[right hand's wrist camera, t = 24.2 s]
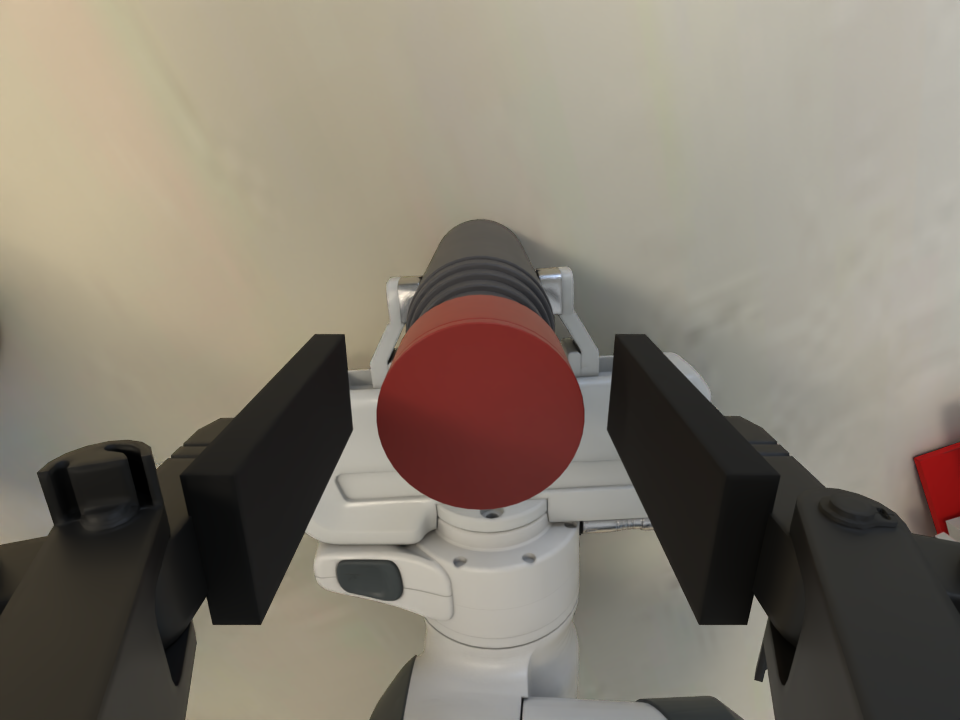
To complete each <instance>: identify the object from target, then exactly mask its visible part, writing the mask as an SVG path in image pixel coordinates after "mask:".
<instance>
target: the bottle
mask: <svg viewBox="0 0 960 720" xmlns="http://www.w3.org/2000/svg"><path fill="white" fill-rule="evenodd" d="M468 295H493V296H498V297H503V298H507V299H510V300H513V301H516V302H518V303H520V304H522V305H524V306H526V307H528V308H529V309H531V310H532V311H534V312H535V313H536V314H538V315H539V316H540V317H541V318H542V319H543V320H544V321H545V322H546V323H547V324H548V325H549V326H550V327H551V329H552V330H553V331H554V333H555V322H554V314H553V310H552V306H551V303H550V301H549V298H548V296H547V294H546V292H545V290H544V288H543V286H542V284H541V282H540V280H539V278H538V276H537V274H536V272H535V270H534V269H533V267H532V265H531V263H530V261H529V259H528V257H527V255H526V253H525V251H524V249H523V247H522V245H521V243H520V241H519V240H518V238H517V237H516V236H515V235H514V234H513V233H512V232H511V231H510V230H509V229H508V228H506V227H505V226H503V225H501V224H499V223H497V222H494V221H490V220H482V219H477V220H470V221H467V222H464V223H461V224H459V225H457V226H456V227H454V228H453V229H452V230H450V231H449V232H448V233H447V234H446V235H445V236H444V238H443V239H442V240H441V242H440V244H439V246H438V248H437V250H436V252H435V254H434V256H433V258H432V260H431V262H430V264H429V266H428V268H427V270H426V272H425V274H424V276H423V278H422V280H421V282H420V284H419V286H418V288H417V290H416V292H415V294H414V296H413V298H412V300H411V303H410V305H409V309H408V313H407V319H406V333H407V331H408V330H409V328H410V327H411V326H412V325H413V324H414V323H415V322H416V320H418V319H419V318H420V317H421V316H422V315H423V314H424V313H426V312H427V311H429V310H430V309H432V308H433V307H435V306H437V305H439V304H441V303H443V302H445V301H448V300H451V299H454V298H458V297H463V296H468Z"/></svg>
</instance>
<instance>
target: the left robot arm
mask: <svg viewBox="0 0 960 720" xmlns="http://www.w3.org/2000/svg"><path fill="white" fill-rule="evenodd" d="M535 272H536V274H537V276H538V278H539V280H540V282H541V284H542V286H543V288H544V290H545V292H546V294H547V296H548V298H549V301H550V303H551V306H552V310H553V314H554V315H556V314H558V315H559V317H560V318H561V320H562V321H563V323H564V325H565V326H566V328H567V329H568V331H569V333H570V334H571V336H572V337H573V339H572V338H563V339H562V340H561V346H562V348H563V350H564V352H565V354H566V357H567V359H568V361H569V363H570V366H571V368H572V370H573V372H574V375H575V377H576V379H577V381H578V384H579V386H580V390H581V393H582V396H583V402H584V409H585V422H584V429H583V435H582V438H581V442H580V445H579V447H578V450H577V452H576V454H575V456H574V458H573V460H572V461H571V463H570V464H569V466H568V467H567V469H566V470H565V471H564V472H563V474H562V475H561V476H560V477H559V478H558V479H557V480H556V481H555V482H554V483H553V484H552V485H550V486H549V487H548V488H546V489H545V490H543V491H542V492H541V493H539V494H537V495H535V496H534V497H532V498H530V499H528V500H525V501H523V502H520V503H518V504H515V505H511V506H508V507H503V508H497V509H486V510H475V509H464V508H458V507H453V506H450V505H446V504H443V503H441V502H438V501H436V500H433V499H431V498H429V497H427V496H426V495H424V494H422V493H420V492H419V491H418V490H416V489H415V488H413V487H412V486H411V485H409V484H408V483H407V482H406V481H405V480H404V479H403V478H402V477H401V476H400V475H399V473H398V472H397V471H396V470H395V469H394V467H393V466H392V464H391V463H390V461H389V460H388V458H387V456H386V454H385V452H384V450H383V447H382V445H381V442H380V438H379V435H378V429H377V422H376V409H377V402H378V396H379V393H380V390H381V386H382V384H383V381H384V379H385V377H386V375H387V372H388V370H389V368H390V366H391V363H392V361H393V359H394V357H395V354H396V352H397V350H398V348H396V349H395V348H394V347H395V345H396V343H397V340H398V338H399V336H400V334H401V332H402V330H403V328H404V325H405V323H406V319H407V313H408V309H409V305H410V303H411V300H412V298H413V296H414V294H415V292H416V290H417V288H418V286H419V284H420V282H421V280H422V278H423V276H402V277H401V276H398V277H390V279H389V280H388V281H387V286H386V294H387V302H388V310H389V319H390V321H389V323H388V324H387V327H386V329H385V331H384V333H383V335H382V338H381V340H380V342H379V344H378V346H377V349H376V351H375V353H374V355H373V357H372V359H371V362H370V369H359V370H348V378H349V388H350V399H351V410H352V421H353V432H352V434H351V436H350V438H349V440H348V442H347V444H346V446H345V448H344V451H343V453H342V455H341V457H340V459H339V461H338V463H337V465H336V467H335V470H334V472H333V474H332V476H331V478H330V480H329V482H328V484H327V486H326V489H325V491H324V493H323V495H322V497H321V499H320V501H319V503H318V505H317V508H316V510H315V512H314V514H313V516H312V518H311V520H310V522H309V524H308V527H307V529H306V531H305V533H306V534H308V535H309V536H311V537H312V538H314V539H316V540H318V541H319V542H318V546H317V550H316V554H315V558H314V565H313V566H314V574H315V578H316V581H317V582H318V584H319V585H320V586H321V587H322V588H324V589H326V590H328V591H331V592H335V593H339V594H344V595H349V596H354V597H359V598H364V599H368V600H372V601H377V602H381V603H384V604H388V605H392V606H395V607H398V608H402V609H405V610H408V611H411V612H413V613H416V614H418V615H421V616H423V618H424V620H425V623H426V635H425V644H424V651H423V653H422V654H421V655H419V656H417V655H415V656H414V657H412V658H411V659H410V660H409V661H408V662H407V663H406V665H405V666H404V667H403V668H402V669H401V671H400V672H399V673H398V674H397V676H396V677H395V679H394V680H393V681H392V683H391V684H390V686H389V687H388V688H387V690H386V691H385V693H384V694H383V695H382V697H381V698H380V700H379V701H378V703H377V705H376V707H375V709H374V711H373V713H372V715H371V717H370V720H743V719H742V718H741V717H740V716H739V715H737V714H736V713H735V712H734V711H732V710H731V709H730V708H728V707H727V706H726V705H724V704H723V703H722V702H720V701H719V700H717V699H716V698H714V697H712V696H695V697H673V698H652V699H639V700H637V701H636V702H628V701H609V700H590V699H577V689H578V673H579V643H578V636H577V632H576V628H575V625H574V623H573V620H572V619H573V616H574V614H575V611H576V608H577V604H578V598H579V551H580V543H579V535H581V534H584V533H604V532H615V531H620V530H626V529H641V530H654V529H653V527H652V524H651V522H650V520H649V518H648V516H647V514H646V512H645V510H644V508H643V505H642V503H641V501H640V499H639V497H638V495H637V493H636V491H635V489H634V486H633V484H632V482H631V480H630V478H629V476H628V474H627V472H626V470H625V467H624V465H623V463H622V461H621V459H620V457H619V455H618V453H617V451H616V448H615V446H614V444H613V442H612V440H611V438H610V436H609V434H608V432H607V421H608V410H609V399H610V388H611V378H612V367H613V356H614V355H608V356H599V350H598V348H597V346H596V345H595V343H594V342H593V340H592V338H591V337H590V335H589V333H588V332H587V330H586V328H585V327H584V325H583V323H582V322H581V320H580V318H579V317H578V315H577V314H576V312H575V310H574V279H573V273H572V270H571V269H570V268H569V267H552V268H538V269H536V271H535ZM663 353H664V354H665V355H666V357H667V358H668V359H669V360H670V361H671V362H672V363H673V364H674V365H675V366H676V367H677V368H678V369H679V370H680V371H681V372H682V373H683V374H684V375H685V376H686V377H687V378H688V379H689V380H690V382H691V383H692V384H693V385H694V386H695V387H696V388H697V389H698V390H699V391H700V392H701V393H702V394H703V395H704V396H705V397H706V398H707V399H708V400H709V401H710V402H711V392H710V389H709V387H708V385H707V383H706V382H705V380H704V379H703V378H702V377H701V375H700V374H699V373H698V372H697V371H696V370H695V369H694V368H693V367H692V366H691V365H690V364H689V363H687V362H686V361H685V360H684V359H683V358H682V357H680V356H679V355H677V354H675V353H672V352H663Z"/></svg>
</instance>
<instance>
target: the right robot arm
mask: <svg viewBox="0 0 960 720" xmlns="http://www.w3.org/2000/svg"><path fill="white" fill-rule="evenodd" d="M352 432H353V421H352V410H351V399H350V388H349V378H348V367H347V356H346V345H345V334H315V335H314V336H313V337H312V338H311V339H310V340H309V341H308V342H307V343H306V344H305V345H304V346H303V347H302V348H301V349H300V350H299V351H298V352H297V353H296V354H295V355H294V357H293V358H292V359H291V360H290V361H289V362H288V363H287V364H286V365H285V366H284V367H283V368H282V369H281V370H280V371H279V372H278V373H277V374H276V375H275V376H274V377H273V378H272V379H271V380H270V382H269V383H268V384H267V385H266V386H265V387H264V388H263V389H262V390H261V391H260V392H259V393H258V394H257V395H256V396H255V397H254V398H253V399H252V400H251V401H250V402H249V403H248V404H247V405H246V406H245V408H244V409H243V410H242V411H241V412H240V413H239V414H238V415H237V416H236V417H235V418H220V419H218V420H216V421H214V422H212V423H210V424H208V425H206V426H205V427H203V428H201V429H199V430H197V431H196V432H195V433H194V434H193V435H192V436H191V437H190V438H189V439H188V440H187V441H186V442H185V443H184V445H183V447H180V448H178V449H177V450H176V451H175V452H174V453H173V454H172V455H171V458H168V459H167V460H166V461H165V462H164V463H163V464H162V465H161V466H159V467H158V468H157V469H156V467H155V463H154V459H153V455H152V451H151V447H150V446H148V445H147V444H145V443H143V442H139V441H132V440H119V441H108V442H103V443H98V444H93V445H89V446H85V447H83V448H80V449H77V450H74V451H71V452H68V453H66V454H64V455H62V456H60V457H58V458H56V459H54V460H52V461H51V462H49V463H47V464H46V465H45V466H44V467H43V468H42V469H41V470H39V471H38V472H37V475H38V478H39V481H40V484H41V487H42V490H43V493H44V496H45V499H46V502H47V505H48V508H49V511H50V514H51V517H52V520H53V523H54V526H53V528H52V530H51V531H50V533H49V535H48V536H46V537H40V538H35V539H30V540H24V541H19V542H13V543H8V544H3V545H0V720H185V717H186V710H187V704H188V697H189V690H190V684H191V677H192V671H193V664H194V657H195V651H196V644H197V642H196V634H195V629H194V625H193V621H192V618H193V617H194V615H195V614H196V612H197V611H198V609H199V607H200V606H201V604H202V603H203V601H204V599H205V598H206V597H207V601H208V606H209V610H210V614H211V619H212V623H213V625H261V624H262V621H263V619H264V617H265V615H266V613H267V611H268V609H269V607H270V605H271V602H272V600H273V598H274V596H275V594H276V592H277V590H278V588H279V586H280V583H281V581H282V579H283V577H284V575H285V573H286V571H287V569H288V567H289V564H290V562H291V560H292V558H293V556H294V554H295V552H296V550H297V548H298V545H299V543H300V541H301V539H302V537H303V535H304V533H305V531H306V529H307V527H308V524H309V522H310V520H311V518H312V516H313V514H314V512H315V510H316V508H317V505H318V503H319V501H320V499H321V497H322V495H323V493H324V491H325V489H326V486H327V484H328V482H329V480H330V478H331V476H332V474H333V472H334V470H335V467H336V465H337V463H338V461H339V459H340V457H341V455H342V453H343V451H344V448H345V446H346V444H347V442H348V440H349V438H350V436H351V434H352ZM607 432H608V434H609V436H610V438H611V440H612V442H613V444H614V446H615V448H616V451H617V453H618V455H619V457H620V459H621V461H622V463H623V465H624V467H625V470H626V472H627V474H628V476H629V478H630V480H631V482H632V484H633V486H634V489H635V491H636V493H637V495H638V497H639V499H640V501H641V503H642V505H643V508H644V510H645V512H646V514H647V516H648V518H649V520H650V522H651V524H652V527H653V529H654V531H655V533H656V535H657V537H658V539H659V541H660V543H661V545H662V548H663V550H664V552H665V554H666V556H667V558H668V560H669V562H670V564H671V567H672V569H673V571H674V573H675V575H676V577H677V579H678V581H679V583H680V586H681V588H682V590H683V592H684V594H685V596H686V598H687V600H688V602H689V605H690V607H691V609H692V611H693V613H694V615H695V617H696V619H697V621H698V624H699V625H747V623H748V619H749V614H750V610H751V606H752V601H753V597H754V595H755V597H756V598H757V600H758V601H759V603H760V604H761V606H762V608H763V609H764V611H765V612H766V614H767V615H768V621H767V625H766V629H765V633H764V637H763V642H762V646H761V650H760V654H759V658H758V662H757V666H756V672H755V679H754V680H757V681H760V682H763V678H764V674H765V670H767V669H768V676H769V682H770V689H771V696H772V702H773V709H774V715H775V720H960V542H955V541H950V540H945V539H939V538H934V537H928V536H923V535H918V534H913V533H911V532H910V530H909V528H908V527H907V525H906V524H905V523H904V522H903V521H902V519H901V518H900V517H899V516H898V515H897V514H896V513H895V512H893V511H892V510H890V509H888V508H887V507H885V506H884V505H882V504H881V503H879V502H877V501H874V500H872V499H870V498H867V497H865V496H862V495H860V494H857V493H853V492H849V491H845V490H841V489H834V488H826V487H825V486H823V485H822V484H821V483H820V482H819V481H818V480H817V479H816V478H815V477H814V476H813V475H812V474H811V473H810V472H809V471H807V470H806V469H805V468H804V467H803V466H802V465H801V464H800V463H799V462H798V461H797V460H796V459H795V458H794V457H793V456H789V453H788V452H787V451H786V450H785V449H784V448H783V447H782V446H781V445H777V441H776V440H775V439H773V438H772V437H771V436H770V435H769V434H768V433H767V432H766V431H765V430H764V429H763V428H761V427H759V426H758V425H756V424H754V423H752V422H750V421H748V420H746V419H744V418H742V417H740V416H723V415H722V414H721V413H720V412H719V411H718V410H717V409H716V408H715V406H714V405H713V404H712V403H711V402H710V401H709V400H708V399H707V398H706V397H705V396H704V395H703V394H702V393H701V392H700V391H699V390H698V389H697V388H696V387H695V386H694V385H693V384H692V383H691V382H690V380H689V379H688V378H687V377H686V376H685V375H684V374H683V373H682V372H681V371H680V370H679V369H678V368H677V367H676V366H675V365H674V364H673V363H672V362H671V361H670V360H669V359H668V358H667V357H666V355H665V354H664V353H663V352H662V351H661V350H660V349H659V348H658V347H657V346H656V345H655V344H654V343H653V342H652V341H651V340H650V339H649V338H648V337H647V336H646V335H645V334H615V345H614V356H613V367H612V378H611V388H610V399H609V410H608V421H607Z"/></svg>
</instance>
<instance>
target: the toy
mask: <svg viewBox="0 0 960 720" xmlns="http://www.w3.org/2000/svg"><path fill="white" fill-rule="evenodd" d="M914 461H915V464H916V467H917V471H918V474H919V477H920V480H921V483H922V487H923V490H924V493H925V496H926V499H927V503H928V506H929V509H930V512H931V515H932V518H933V522H934V525H935V528H936V531H937V535H935V538H939V539H945V540H950V541H955V542H960V442H958V443H955V444H953V445H950V446H947V447H944V448H941V449H938V450H935V451H932V452H929V453H926V454H923V455H920V456H918V457H915V458H914Z"/></svg>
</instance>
